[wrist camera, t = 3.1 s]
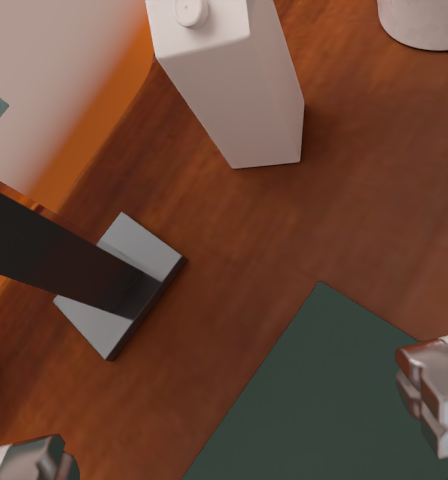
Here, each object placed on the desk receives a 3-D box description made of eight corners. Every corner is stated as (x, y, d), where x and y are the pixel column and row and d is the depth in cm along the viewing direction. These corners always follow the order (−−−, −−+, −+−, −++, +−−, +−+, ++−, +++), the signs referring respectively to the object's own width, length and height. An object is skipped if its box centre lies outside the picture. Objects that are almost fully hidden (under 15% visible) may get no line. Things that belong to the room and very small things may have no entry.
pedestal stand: (128, 204, 44) (-140, -1, 22) (201, 256, 38) (-72, 40, 16) (50, 306, 43) (-315, 194, 21) (112, 377, 37) (-317, 323, 15)
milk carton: (240, 113, 43) (145, -65, 27) (305, 103, 40) (241, -104, 24) (232, 169, 41) (121, 10, 25) (300, 163, 38) (226, -23, 22)
